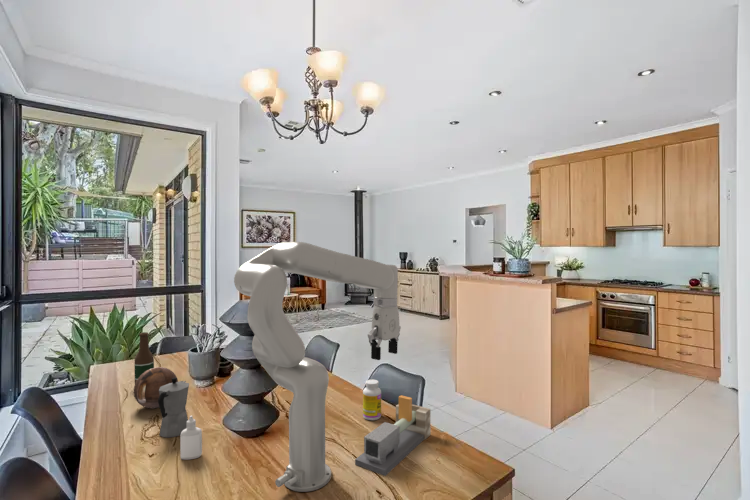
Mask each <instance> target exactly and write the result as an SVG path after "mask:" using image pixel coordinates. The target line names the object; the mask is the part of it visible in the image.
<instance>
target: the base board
mask: <svg viewBox="0 0 750 500" xmlns="http://www.w3.org/2000/svg"><path fill="white" fill-rule="evenodd" d="M423 441H424V435H423V434H420V433H416V432H413V431H410V430H406V429H405V430H404V431H403V432H401V433H400V444H399V445H398V450H397V451H396V452H395V453H392V452H389V453H388V454H387V455H386V461H385V462H384V463H383V464H378V463H375V462H373V461H370V460H367V459H366V456H365V455H364V452H363V453H362V454H360V455H359V456H358V457H356V458H355V459H354V463H355V464H354V465H355V466H358V467H360V468H363V469H366V470H369V471H371V472H373V473H376V474H379V475H381V476H385V477H386V476H387V475H388V474H389V473H390V472H392V470H394V468H396V466H398V465H399V464H400V463H401V462H402V461H403V460H404V459H405V458H406V457H407V456H408V455H410V453H412V451H414V450H415V449H416V448H417V447H418V446H419V445H420V444H421V443H422V442H423Z"/></svg>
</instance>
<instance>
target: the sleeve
mask: <svg viewBox="0 0 750 500" xmlns="http://www.w3.org/2000/svg"><path fill="white" fill-rule="evenodd" d="M399 444H400V426H397V425H394V424H393V423H389V422H386V421H384V422H383V423H381V424H380V425H379V426H378V427H376V428H375V429H373V430H372V431H370V432H369V433H367V434H366V435H365V436H364V437H363V453H364V455H365V456H366V459H367V460H370V461H373V462H375V463H378V464H383V463H384V462H385V461H386V455H387V454H388V453H389V452H392V453H395V452H396V451H397V450H398V445H399Z"/></svg>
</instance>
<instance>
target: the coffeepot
mask: <svg viewBox="0 0 750 500" xmlns="http://www.w3.org/2000/svg"><path fill="white" fill-rule="evenodd" d="M177 379H178V377H177V378H172V383H169V384H166V385H164V386H161V387H160V389H159V394H160V396H159V399H158V404H159V410H160V414H161V422H160V429H159V436H160V437H161V438H165V439H166V438H167V439H168V438H176V437H179V436H180V435H181V432H182V431H183V430H184V429H186V428H187V421H188V420H189V418H188V413H187V409H186V408H187V407H186V406H187V400H188V394H189V386H190V383H189V382H186V380H178V382H176V380H177Z"/></svg>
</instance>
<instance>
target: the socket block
mask: <svg viewBox="0 0 750 500" xmlns="http://www.w3.org/2000/svg"><path fill="white" fill-rule="evenodd" d="M412 411H416V421H415V422H414V423H412V424H411V425H410V426H409V427H408V428H406V430H410V431H413V432H416V433H420V434H423V435H424V440H427V438H428V437H430V436H431V434H432V433H431V432H432V431H431V426H432V425H431V408H428V407H424V406H421V405H418V404H417V405H416V404H413V403H412ZM399 420H400V419H399V403H398V404H396V405H395V423H396V422H398V421H399ZM424 440H423V441H424Z"/></svg>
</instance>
